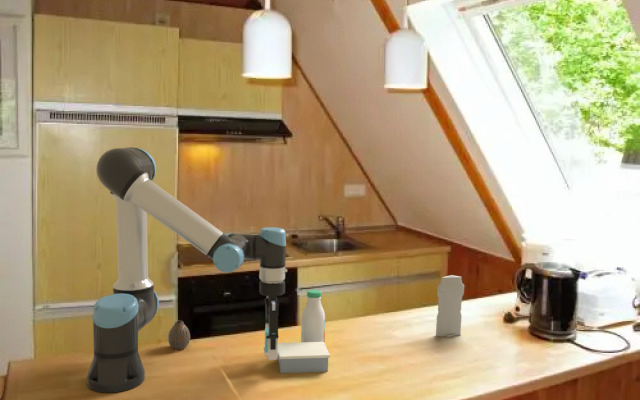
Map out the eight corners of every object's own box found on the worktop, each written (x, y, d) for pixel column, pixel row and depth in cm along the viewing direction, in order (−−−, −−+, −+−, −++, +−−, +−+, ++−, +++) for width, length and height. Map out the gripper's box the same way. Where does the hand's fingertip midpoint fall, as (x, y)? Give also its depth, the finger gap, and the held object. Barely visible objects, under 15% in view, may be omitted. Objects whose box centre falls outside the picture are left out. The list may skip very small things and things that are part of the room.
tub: (280, 375, 166) (281, 358, 165) (277, 361, 176) (278, 345, 175) (327, 373, 168) (328, 357, 167) (322, 360, 178) (322, 344, 177)
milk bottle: (321, 356, 181) (323, 295, 179) (298, 353, 182) (299, 293, 180) (326, 347, 188) (328, 289, 186) (303, 345, 190) (305, 287, 188)
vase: (190, 343, 188) (190, 317, 187) (189, 351, 182) (190, 324, 181) (168, 344, 187) (168, 318, 186) (167, 352, 180) (167, 325, 179)
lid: (265, 359, 164) (265, 336, 163) (263, 345, 175) (263, 324, 174) (329, 357, 167) (330, 335, 166) (323, 344, 178) (324, 323, 177)
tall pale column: (458, 332, 207) (462, 273, 205) (464, 336, 204) (467, 276, 201) (432, 334, 205) (435, 274, 202) (437, 338, 201) (440, 277, 198)
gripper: (289, 290, 156) (287, 366, 159) (281, 270, 179) (280, 336, 182) (261, 291, 155) (260, 367, 157) (257, 270, 178) (256, 337, 181)
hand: (270, 351), depth 170 cm, fingers open, 11 cm apart
